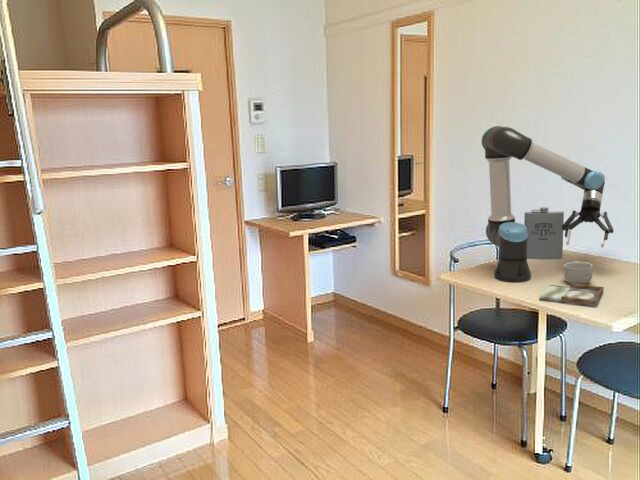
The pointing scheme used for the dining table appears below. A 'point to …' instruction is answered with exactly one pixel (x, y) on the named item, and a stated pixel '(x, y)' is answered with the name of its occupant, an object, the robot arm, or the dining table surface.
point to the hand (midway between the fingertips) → (584, 244)
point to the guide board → (573, 294)
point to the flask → (544, 234)
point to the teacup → (578, 272)
